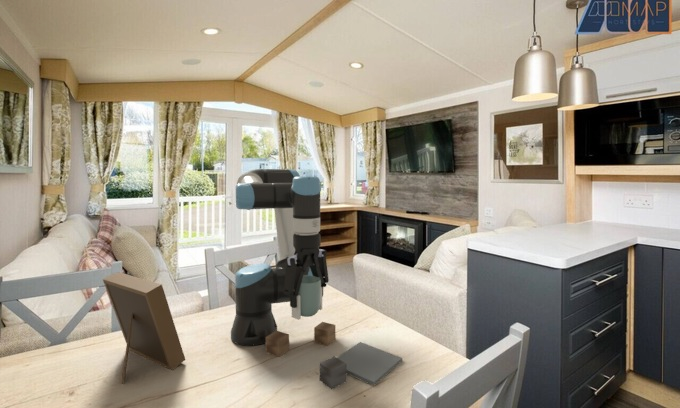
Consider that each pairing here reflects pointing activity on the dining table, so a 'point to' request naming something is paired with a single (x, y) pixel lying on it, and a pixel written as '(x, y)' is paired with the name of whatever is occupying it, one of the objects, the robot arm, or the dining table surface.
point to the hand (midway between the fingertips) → (307, 313)
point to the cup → (310, 295)
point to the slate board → (369, 362)
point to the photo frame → (144, 319)
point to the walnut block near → (277, 343)
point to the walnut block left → (324, 333)
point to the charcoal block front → (333, 372)
